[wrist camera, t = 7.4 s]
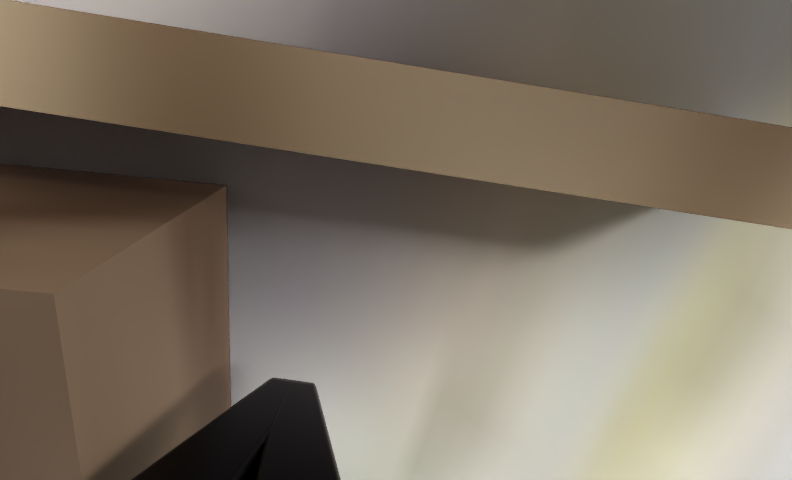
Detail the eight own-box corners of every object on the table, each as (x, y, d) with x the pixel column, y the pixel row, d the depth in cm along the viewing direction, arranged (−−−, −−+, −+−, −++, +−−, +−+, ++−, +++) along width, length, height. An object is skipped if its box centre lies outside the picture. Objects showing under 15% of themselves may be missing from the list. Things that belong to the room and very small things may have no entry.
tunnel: (731, 120, 8) (905, 145, 5) (562, 575, 12) (613, 736, 9) (-225, -35, 8) (-599, -99, 5) (-100, 489, 11) (-273, 632, 8)
